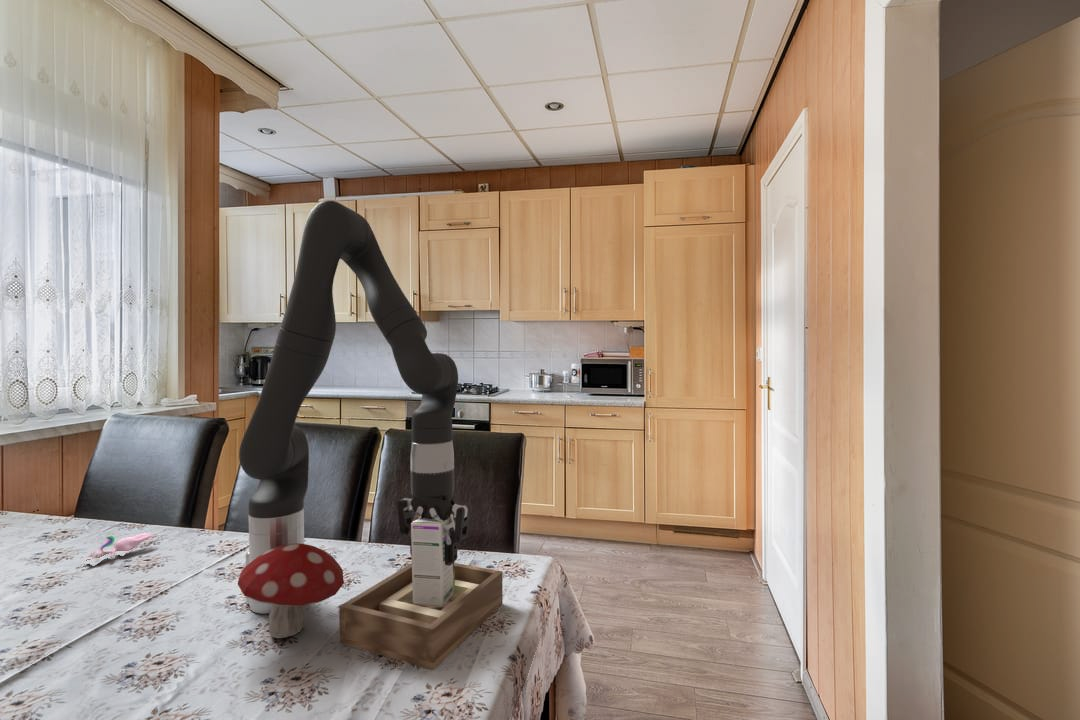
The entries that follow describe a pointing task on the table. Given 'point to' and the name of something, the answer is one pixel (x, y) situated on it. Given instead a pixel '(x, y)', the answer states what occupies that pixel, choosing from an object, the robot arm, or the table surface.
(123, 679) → the table surface
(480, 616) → the crate
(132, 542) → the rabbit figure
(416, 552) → the syrup box
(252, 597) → the decorative mushroom
